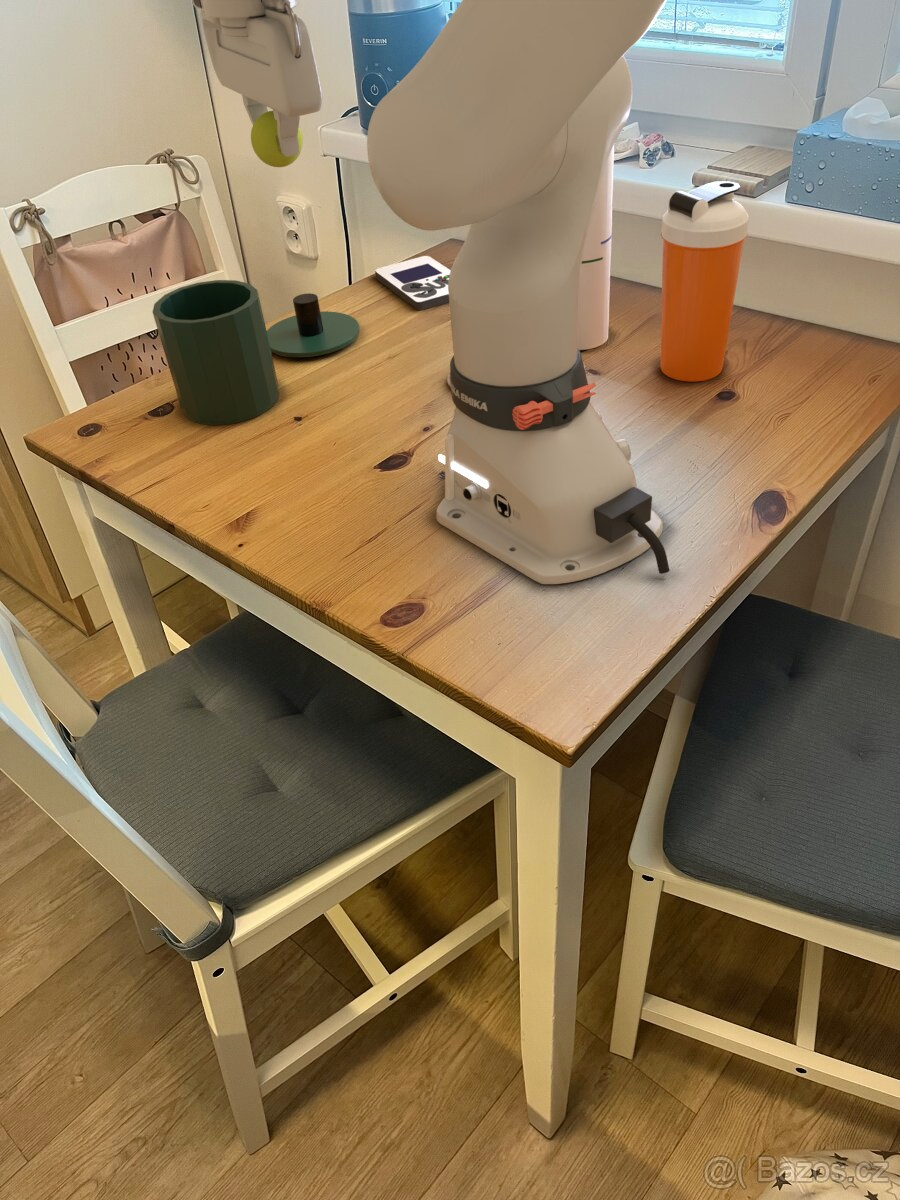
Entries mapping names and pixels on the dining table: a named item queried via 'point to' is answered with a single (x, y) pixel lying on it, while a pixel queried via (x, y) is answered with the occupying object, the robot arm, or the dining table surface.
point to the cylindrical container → (597, 267)
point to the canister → (217, 351)
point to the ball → (270, 141)
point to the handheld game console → (417, 281)
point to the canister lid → (311, 330)
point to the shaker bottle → (699, 278)
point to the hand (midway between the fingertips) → (277, 148)
